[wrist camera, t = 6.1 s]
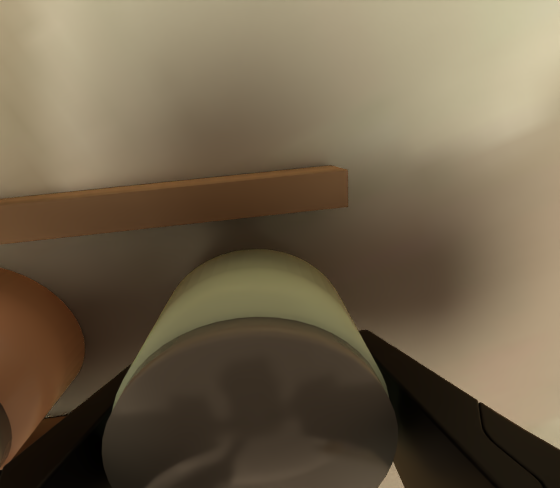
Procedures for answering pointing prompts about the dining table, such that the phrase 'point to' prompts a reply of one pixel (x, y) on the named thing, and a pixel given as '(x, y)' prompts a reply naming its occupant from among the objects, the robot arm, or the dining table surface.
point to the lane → (168, 210)
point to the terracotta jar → (32, 357)
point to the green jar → (252, 386)
